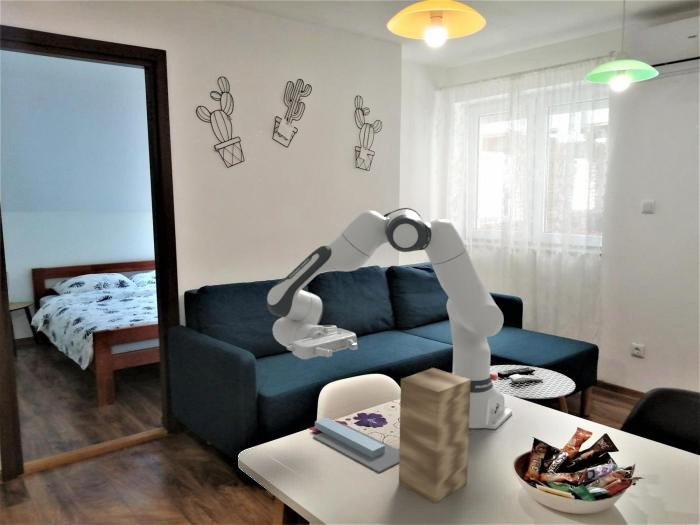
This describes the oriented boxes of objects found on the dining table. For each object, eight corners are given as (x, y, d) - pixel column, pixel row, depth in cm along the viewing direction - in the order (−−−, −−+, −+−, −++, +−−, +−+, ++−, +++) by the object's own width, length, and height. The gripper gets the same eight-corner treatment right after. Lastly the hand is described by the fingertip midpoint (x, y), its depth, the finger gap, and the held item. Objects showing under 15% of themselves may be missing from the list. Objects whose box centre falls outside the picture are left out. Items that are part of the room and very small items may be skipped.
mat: (344, 425, 161) (344, 424, 161) (411, 457, 142) (411, 455, 142) (313, 437, 153) (313, 436, 153) (379, 473, 134) (379, 471, 134)
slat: (326, 423, 161) (326, 417, 161) (384, 452, 143) (384, 445, 143) (315, 428, 158) (315, 421, 158) (372, 458, 140) (372, 450, 140)
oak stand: (430, 466, 137) (433, 367, 134) (466, 483, 129) (470, 379, 126) (398, 483, 129) (400, 378, 126) (435, 503, 121) (438, 392, 118)
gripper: (283, 336, 152) (314, 346, 142) (337, 323, 166) (369, 332, 155) (283, 357, 153) (314, 369, 143) (337, 343, 166) (369, 353, 156)
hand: (343, 350), depth 149 cm, fingers open, 8 cm apart
